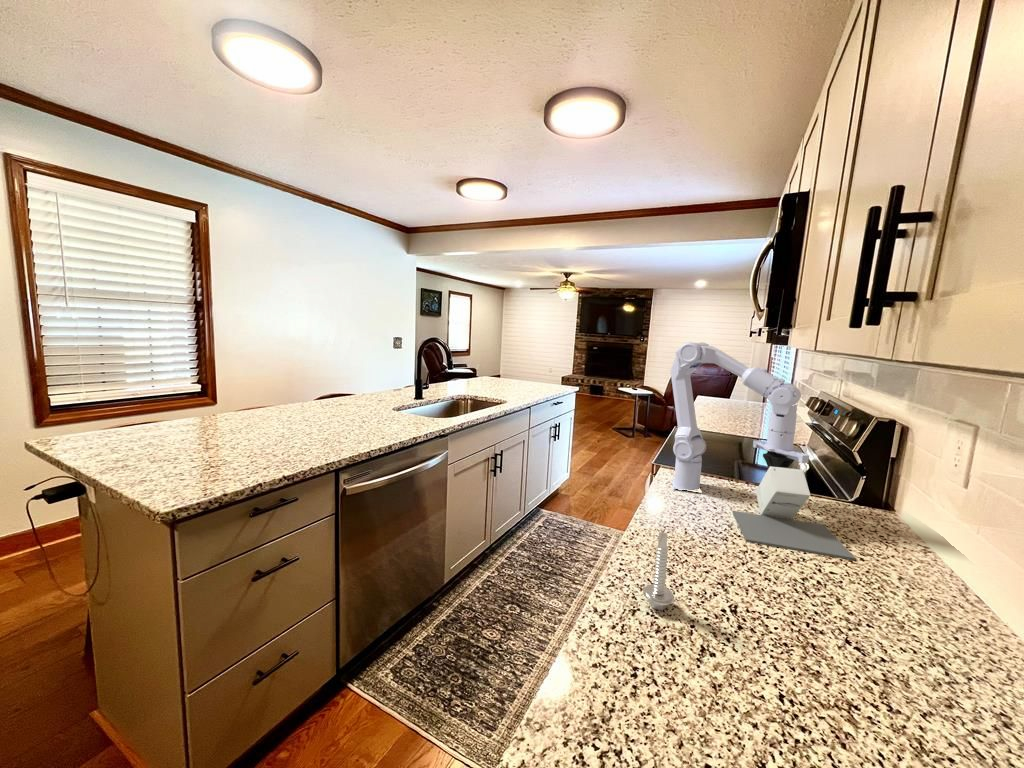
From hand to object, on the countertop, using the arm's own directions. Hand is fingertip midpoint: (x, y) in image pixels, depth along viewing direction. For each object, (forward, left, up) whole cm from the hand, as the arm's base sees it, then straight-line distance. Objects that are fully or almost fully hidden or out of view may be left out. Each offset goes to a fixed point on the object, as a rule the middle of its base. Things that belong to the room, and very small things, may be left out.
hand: (775, 481), depth 103 cm
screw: (+51, -29, -9) cm, 59 cm away
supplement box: (0, 0, -7) cm, 7 cm away
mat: (+12, 0, -9) cm, 15 cm away
